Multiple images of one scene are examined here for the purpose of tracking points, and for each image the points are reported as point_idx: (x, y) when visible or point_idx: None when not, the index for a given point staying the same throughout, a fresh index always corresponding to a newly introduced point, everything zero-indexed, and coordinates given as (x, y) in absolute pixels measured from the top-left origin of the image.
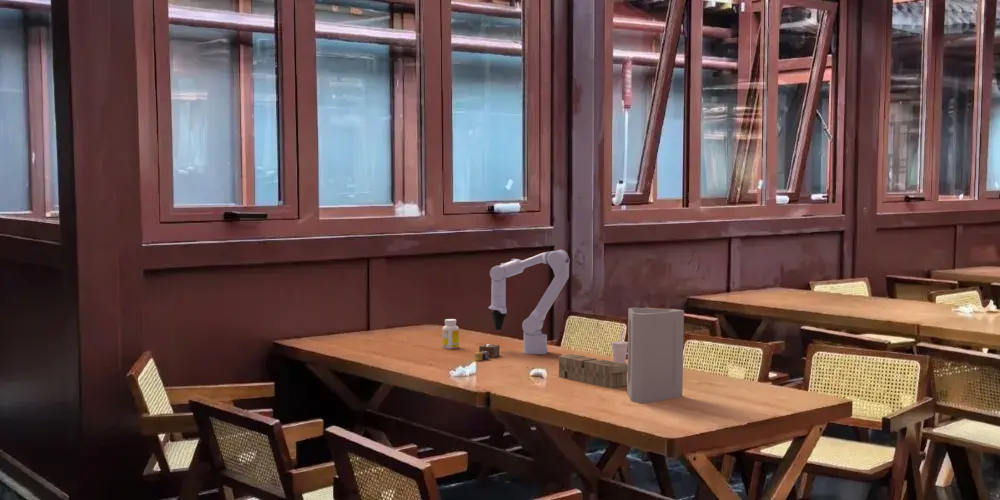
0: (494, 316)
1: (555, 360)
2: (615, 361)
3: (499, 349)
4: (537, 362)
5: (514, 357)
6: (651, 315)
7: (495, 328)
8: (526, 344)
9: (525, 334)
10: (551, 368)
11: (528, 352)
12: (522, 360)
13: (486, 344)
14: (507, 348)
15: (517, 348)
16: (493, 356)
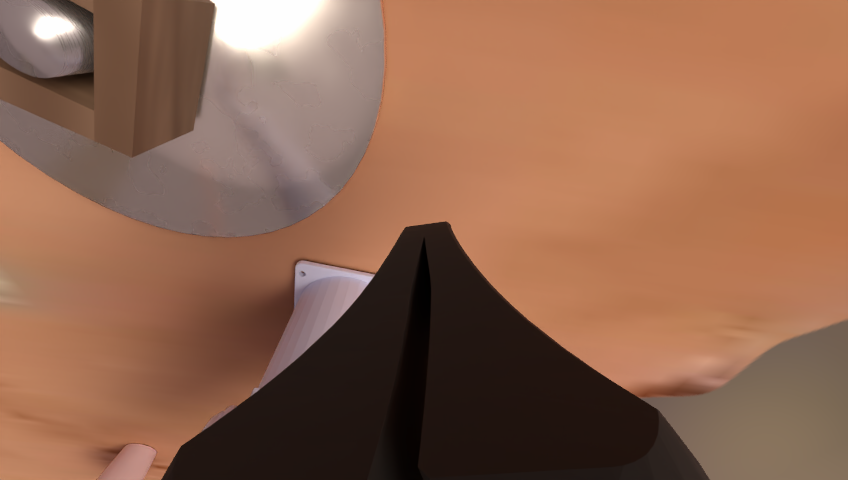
0: (275, 392)
1: (240, 356)
2: (106, 468)
3: (160, 144)
4: (160, 296)
5: (297, 223)
6: None
7: (432, 227)
8: (289, 332)
9: (253, 390)
10: (16, 318)
11: (297, 303)
12: (200, 246)
13: (124, 9)
14: (630, 236)
15: (603, 281)
16: None
